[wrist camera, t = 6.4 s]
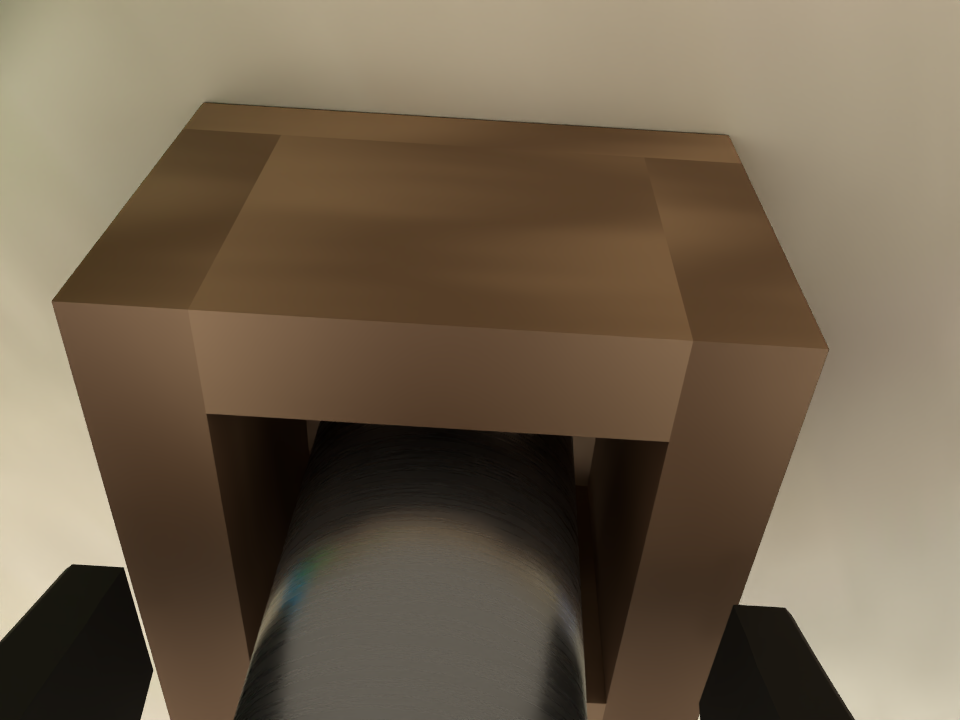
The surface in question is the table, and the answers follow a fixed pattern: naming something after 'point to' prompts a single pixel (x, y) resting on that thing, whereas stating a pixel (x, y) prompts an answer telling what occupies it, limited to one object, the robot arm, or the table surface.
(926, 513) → the table surface
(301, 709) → the peg
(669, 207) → the socket
